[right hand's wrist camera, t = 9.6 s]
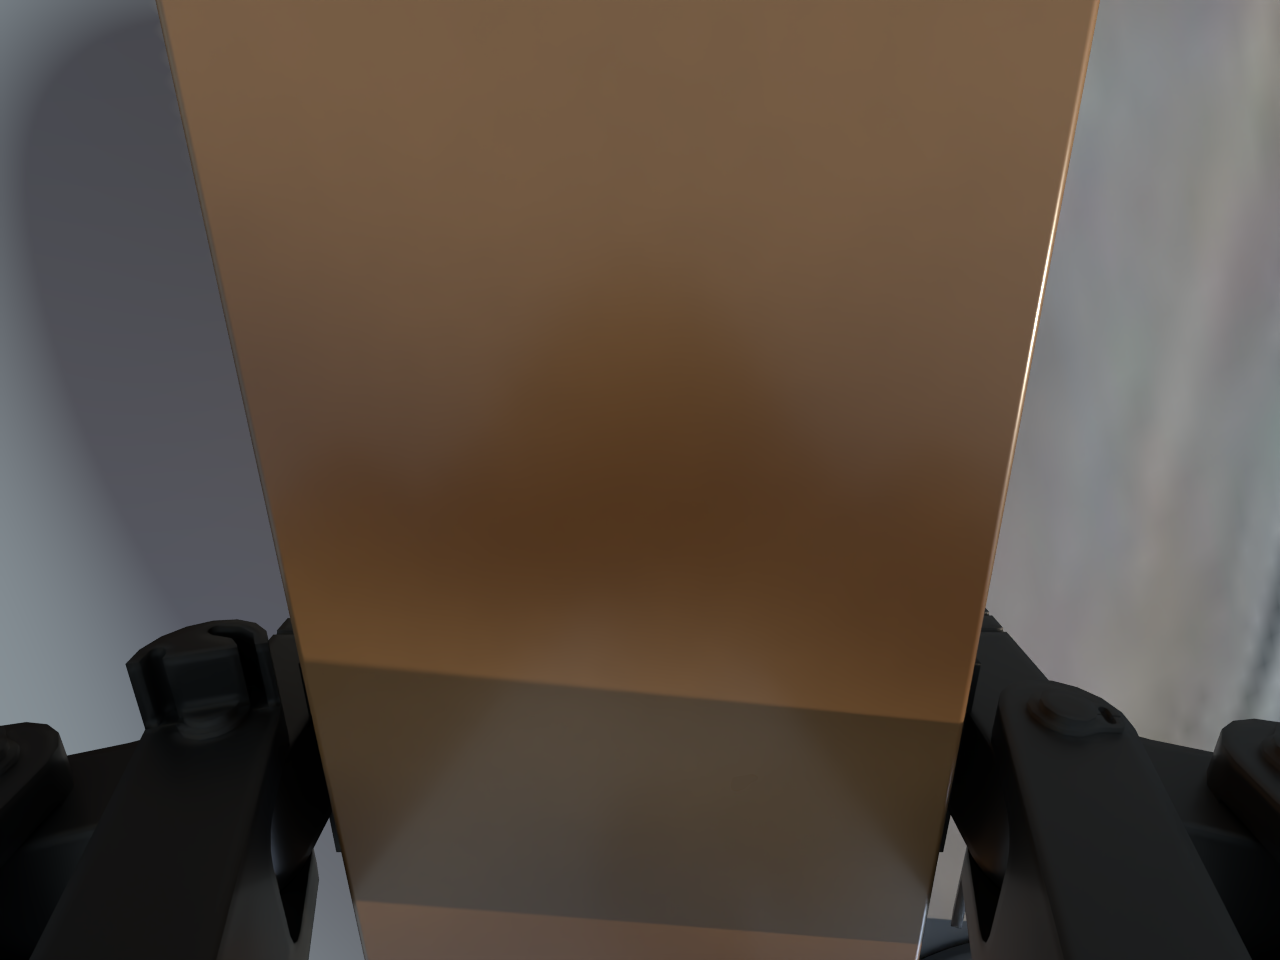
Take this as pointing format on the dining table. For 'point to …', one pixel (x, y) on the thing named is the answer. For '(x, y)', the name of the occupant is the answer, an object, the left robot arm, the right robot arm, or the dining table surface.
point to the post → (634, 438)
